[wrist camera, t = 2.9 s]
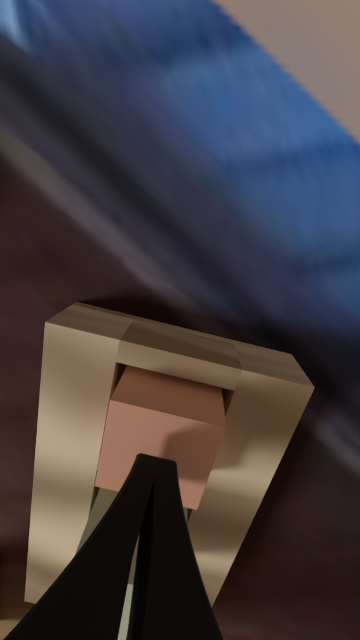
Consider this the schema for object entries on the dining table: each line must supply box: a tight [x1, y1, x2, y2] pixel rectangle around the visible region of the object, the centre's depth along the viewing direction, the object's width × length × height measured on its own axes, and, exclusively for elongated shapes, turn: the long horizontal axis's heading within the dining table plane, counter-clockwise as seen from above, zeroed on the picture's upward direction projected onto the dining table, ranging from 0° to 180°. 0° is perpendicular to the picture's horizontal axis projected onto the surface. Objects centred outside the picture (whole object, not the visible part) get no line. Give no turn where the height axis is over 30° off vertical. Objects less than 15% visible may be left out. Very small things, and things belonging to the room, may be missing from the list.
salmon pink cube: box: [95, 365, 227, 510], centre depth 12 cm, size 4×4×4 cm
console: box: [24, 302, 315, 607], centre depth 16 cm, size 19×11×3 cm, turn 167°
